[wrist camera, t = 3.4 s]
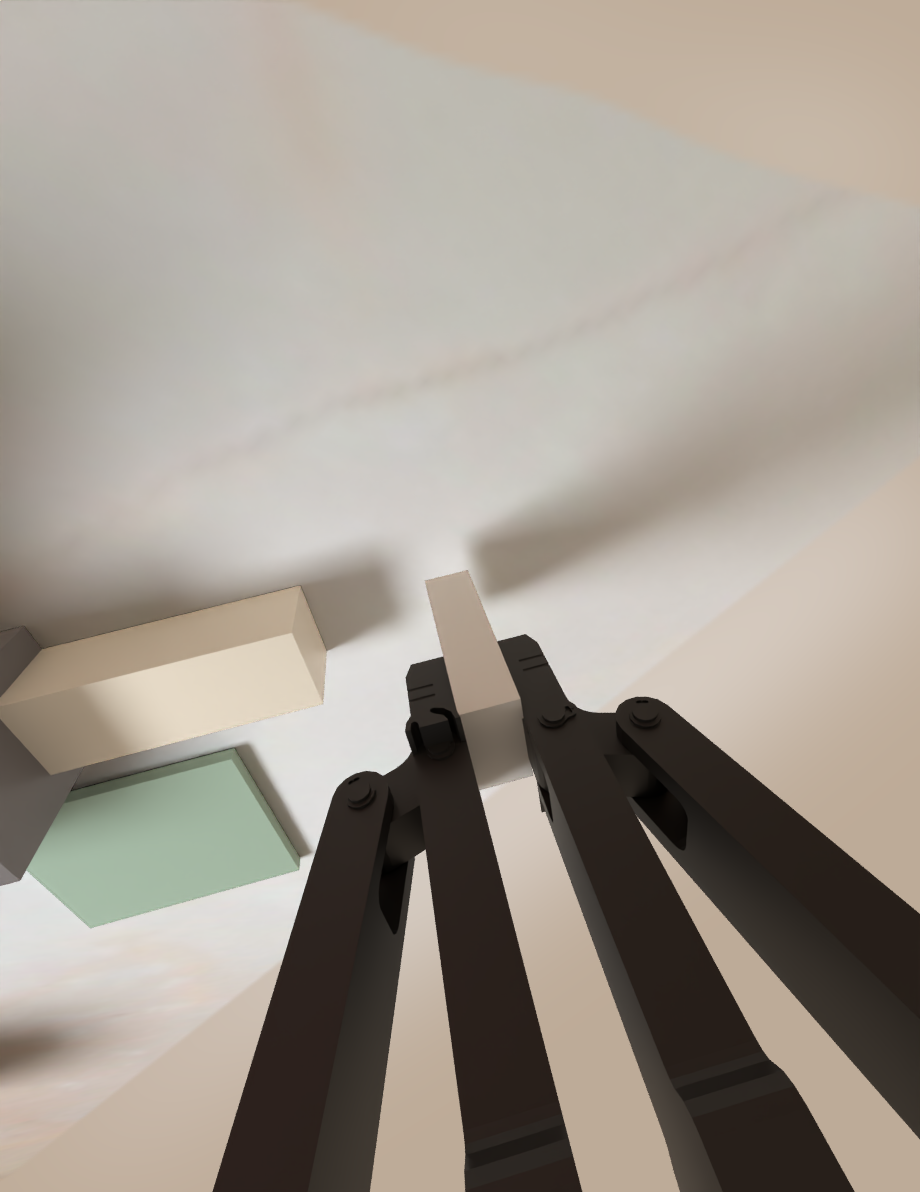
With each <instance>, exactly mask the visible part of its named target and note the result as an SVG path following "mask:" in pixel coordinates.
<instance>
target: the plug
mask: <svg viewBox="0 0 920 1192" xmlns="http://www.w3.org/2000/svg"><path fill="white" fill-rule="evenodd" d="M326 655H327V651H326V648H325V646H324V643H323V641H322V638H321V636H320V633H319V631H318V628H317V626H316V623H315V621H314V619H313V616H312V614H311V611H310V609H309V606H308V604H307V601H306V599H305V596H304V594H303V591H302V589H301V586H296V587H292V588H288V589H284V590H280V591H276V592H272V593H268V594H263V595H259V596H255V597H251V598H247V599H243V600H239V601H235V602H231V603H227V604H223V605H219V606H215V607H211V608H207V609H203V610H199V611H195V612H191V613H187V614H183V615H179V616H175V617H170V618H166V619H162V620H158V621H154V622H150V623H146V624H142V625H138V626H134V627H130V628H126V629H122V630H118V631H114V632H110V633H106V634H102V635H98V636H94V637H90V638H86V639H82V640H77V641H73V642H69V643H65V644H61V645H57V646H53V647H49V648H45V649H41V647H40V646H39V645H38V643H37V642H36V641H35V640H34V638H33V637H32V636H31V634H30V633H29V632H28V630H27V629H26V628H25V627H24V626H22V627H18V628H13V629H9V630H5V631H1V632H0V886H2V885H6V884H10V883H13V882H17V881H20V880H21V878H22V877H23V875H24V873H25V871H26V869H27V868H28V866H29V864H30V862H31V861H32V859H33V857H34V855H35V853H36V852H37V850H38V848H39V846H40V844H41V843H42V841H43V839H44V837H45V836H46V834H47V832H48V830H49V828H50V827H51V825H52V823H53V821H54V820H55V818H56V816H57V814H58V812H59V811H60V809H61V807H62V805H63V803H64V802H65V800H66V798H67V796H68V795H69V793H70V791H71V789H72V787H73V786H74V784H75V782H76V780H77V779H78V777H79V775H80V773H81V771H82V770H83V768H84V766H88V765H92V764H95V763H99V762H103V761H107V760H111V759H115V758H118V757H122V756H126V755H130V754H134V753H138V752H141V751H145V750H149V749H153V748H157V747H160V746H164V745H168V744H172V743H176V742H180V741H183V740H187V739H191V738H195V737H199V736H203V735H206V734H210V733H214V732H218V731H222V730H226V729H229V728H233V727H237V726H241V725H245V724H249V723H252V722H256V721H260V720H264V719H268V718H272V717H275V716H279V715H283V714H287V713H291V712H295V711H298V710H302V709H306V708H310V707H314V706H318V705H321V704H323V699H324V684H325V670H326Z"/></svg>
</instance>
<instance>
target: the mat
mask: <svg viewBox="0 0 920 1192" xmlns="http://www.w3.org/2000/svg"><path fill="white" fill-rule="evenodd" d="M299 866H300V857H299V856H298V854H297V852H296V851H295V849H294V847H293V846H292V844H291V842H290V841H289V839H288V837H287V836H286V834H285V832H284V831H283V829H282V827H281V826H280V824H279V822H278V821H277V819H276V817H275V816H274V814H273V812H272V810H271V809H270V807H269V805H268V804H267V802H266V800H265V799H264V797H263V795H262V794H261V792H260V790H259V789H258V787H257V785H256V784H255V782H254V780H253V779H252V777H251V775H250V774H249V772H248V770H247V769H246V767H245V765H244V764H243V762H242V760H241V759H240V757H239V755H238V754H237V752H236V750H235V749H234V748H233V749H229V750H225V751H221V752H218V753H214V754H210V755H206V756H202V757H199V758H195V759H191V760H187V761H183V762H180V763H176V764H172V765H168V766H165V767H161V768H157V769H153V770H149V771H146V772H142V773H138V774H134V775H130V776H127V777H123V778H119V779H115V780H111V781H108V782H104V783H100V784H96V785H93V786H89V787H85V788H81V789H77V790H74V791H70V793H69V795H68V796H67V798H66V800H65V802H64V803H63V805H62V807H61V809H60V811H59V812H58V814H57V816H56V818H55V820H54V821H53V823H52V825H51V827H50V828H49V830H48V832H47V834H46V836H45V837H44V839H43V841H42V843H41V844H40V846H39V848H38V850H37V852H36V853H35V855H34V857H33V859H32V861H31V862H30V864H29V866H28V868H27V869H26V870H27V871H28V872H29V873H30V874H31V875H32V876H33V877H34V878H35V879H37V880H38V881H39V882H40V883H41V884H42V885H43V886H44V887H45V888H46V889H48V890H49V891H50V892H51V893H52V894H53V895H54V896H55V897H56V898H58V899H59V900H60V901H61V902H62V903H63V904H64V905H65V906H66V907H67V908H69V909H70V910H71V911H72V912H73V913H74V914H75V915H76V916H77V917H78V918H80V919H81V920H82V921H83V922H84V923H85V924H86V925H87V926H88V927H89V928H93V927H97V926H100V925H104V924H107V923H111V922H115V921H118V920H122V919H125V918H129V917H133V916H136V915H140V914H143V913H147V912H150V911H154V910H158V909H161V908H165V907H168V906H172V905H175V904H179V903H183V902H186V901H190V900H193V899H197V898H201V897H204V896H208V895H211V894H215V893H218V892H222V891H226V890H229V889H233V888H236V887H240V886H243V885H247V884H251V883H254V882H258V881H261V880H265V879H269V878H272V877H276V876H279V875H283V874H286V873H290V872H294V871H297V870H299Z"/></svg>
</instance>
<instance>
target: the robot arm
mask: <svg viewBox="0 0 920 1192" xmlns="http://www.w3.org/2000/svg"><path fill="white" fill-rule="evenodd" d="M425 584H426V588H427V592H428V596H429V600H430V604H431V608H432V612H433V616H434V620H435V624H436V628H437V632H438V636H439V640H440V644H441V648H442V652H443V657H440V658H436V659H432V660H428V661H424V662H420V663H416V664H412V665H411V666H410V669H409V671H408V673H407V676H406V684H407V691H408V698H409V705H410V713H411V717H410V718H409V720H408V721H407V723H406V729H405V733H406V736H407V739H408V742H409V744H410V747H411V750H412V752H411V754H410V755H409V757H408V758H407V759H406V760H405V762H404V763H403V764H401V765H400V766H399V767H397V768H396V769H394V770H392V771H391V772H389V773H387V774H386V775H384V776H382V775H380V774H379V773H377V772H371V771H364V772H360V773H356V774H354V775H352V776H350V777H349V778H347V779H345V780H344V781H343V782H342V783H341V784H340V785H339V786H338V787H337V789H336V791H335V793H334V795H333V797H332V801H331V804H330V807H329V810H328V814H327V817H326V820H325V824H324V827H323V830H322V833H321V837H320V840H319V843H318V847H317V850H316V853H315V857H314V860H313V863H312V866H311V870H310V873H309V876H308V880H307V883H306V886H305V889H304V893H303V896H302V899H301V903H300V906H299V909H298V912H297V916H296V919H295V922H294V926H293V929H292V932H291V935H290V939H289V942H288V945H287V949H286V952H285V955H284V958H283V962H282V965H281V969H280V972H279V975H278V978H277V982H276V985H275V988H274V992H273V995H272V998H271V1001H270V1005H269V1008H268V1011H267V1014H266V1018H265V1021H264V1024H263V1028H262V1031H261V1034H260V1038H259V1041H258V1044H257V1047H256V1051H255V1054H254V1057H253V1060H252V1064H251V1067H250V1071H249V1074H248V1077H247V1080H246V1083H245V1087H244V1090H243V1093H242V1097H241V1100H240V1103H239V1106H238V1110H237V1113H236V1116H235V1120H234V1123H233V1126H232V1129H231V1133H230V1136H229V1139H228V1143H227V1146H226V1149H225V1153H224V1156H223V1159H222V1163H221V1166H220V1169H219V1172H218V1176H217V1179H216V1182H215V1185H214V1189H213V1192H370V1185H371V1179H372V1171H373V1164H374V1155H375V1148H376V1141H377V1134H378V1127H379V1120H380V1112H381V1105H382V1097H383V1090H384V1083H385V1075H386V1068H387V1060H388V1053H389V1045H390V1038H391V1030H392V1024H393V1016H394V1009H395V1002H396V994H397V986H398V979H399V972H400V965H401V957H402V950H403V942H404V935H405V928H406V920H407V913H408V905H409V898H410V891H411V884H412V876H413V868H414V861H415V856H416V855H418V854H419V853H421V852H422V851H424V850H425V849H426V855H427V862H428V869H429V877H430V885H431V892H432V899H433V907H434V915H435V922H436V930H437V937H438V944H439V952H440V959H441V967H442V975H443V982H444V989H445V997H446V1005H447V1012H448V1020H449V1027H450V1034H451V1042H452V1049H453V1057H454V1064H455V1072H456V1079H457V1086H458V1095H459V1101H460V1109H461V1117H462V1124H463V1132H464V1141H465V1154H466V1155H465V1169H464V1174H465V1192H582V1189H581V1185H580V1181H579V1177H578V1174H577V1170H576V1166H575V1162H574V1158H573V1154H572V1150H571V1146H570V1142H569V1139H568V1135H567V1131H566V1127H565V1123H564V1120H563V1116H562V1112H561V1108H560V1104H559V1100H558V1096H557V1092H556V1088H555V1085H554V1081H553V1077H552V1073H551V1069H550V1065H549V1061H548V1057H547V1053H546V1049H545V1045H544V1041H543V1038H542V1034H541V1030H540V1026H539V1022H538V1018H537V1014H536V1010H535V1006H534V1003H533V999H532V995H531V991H530V987H529V983H528V979H527V975H526V971H525V967H524V963H523V960H522V956H521V952H520V948H519V944H518V940H517V936H516V932H515V928H514V924H513V921H512V917H511V913H510V909H509V905H508V901H507V897H506V893H505V889H504V885H503V881H502V878H501V874H500V870H499V866H498V862H497V858H496V854H495V850H494V846H493V842H492V838H491V835H490V831H489V827H488V823H487V819H486V816H485V811H484V807H483V803H482V799H481V796H480V792H479V790H482V789H485V788H489V787H493V786H496V785H500V784H504V783H507V782H511V781H515V780H518V779H522V778H525V777H529V776H533V772H534V774H535V777H536V780H537V786H538V792H539V798H540V804H541V811H542V812H546V815H547V817H548V820H549V823H550V825H551V828H552V831H553V833H554V836H555V839H556V842H557V845H558V847H559V850H560V853H561V856H562V858H563V861H564V864H565V867H566V869H567V872H568V875H569V877H570V880H571V883H572V886H573V888H574V891H575V894H576V896H577V899H578V902H579V905H580V907H581V910H582V913H583V916H584V918H585V921H586V924H587V927H588V929H589V932H590V935H591V937H592V940H593V943H594V946H595V949H596V951H597V954H598V957H599V959H600V962H601V965H602V968H603V970H604V973H605V976H606V978H607V981H608V984H609V987H610V989H611V992H612V995H613V998H614V1000H615V1003H616V1006H617V1008H618V1011H619V1014H620V1017H621V1020H622V1022H623V1025H624V1028H625V1031H626V1033H627V1036H628V1039H629V1041H630V1044H631V1047H632V1049H633V1052H634V1055H635V1058H636V1060H637V1063H638V1066H639V1068H640V1072H641V1074H642V1077H643V1080H644V1082H645V1085H646V1088H647V1091H648V1093H649V1096H650V1099H651V1102H652V1104H653V1107H654V1110H655V1112H656V1115H657V1118H658V1121H659V1123H660V1126H661V1129H662V1132H663V1135H664V1137H665V1140H666V1144H667V1147H668V1151H669V1155H670V1158H671V1162H672V1166H673V1170H674V1174H675V1177H676V1180H677V1183H678V1186H679V1190H680V1192H854V1190H853V1188H852V1186H851V1185H850V1183H849V1181H848V1179H847V1177H846V1176H845V1174H844V1172H843V1170H842V1168H841V1167H840V1165H839V1163H838V1161H837V1159H836V1158H835V1156H834V1154H833V1152H832V1150H831V1148H830V1147H829V1145H828V1143H827V1142H826V1139H825V1138H824V1136H823V1134H822V1132H821V1130H820V1129H819V1127H818V1125H817V1123H816V1121H815V1120H814V1118H813V1116H812V1114H811V1113H810V1111H809V1109H808V1107H807V1105H806V1104H805V1102H804V1101H803V1099H802V1097H801V1095H800V1094H799V1092H798V1091H797V1089H796V1088H795V1086H794V1084H793V1083H792V1082H791V1081H790V1079H789V1078H788V1076H787V1075H786V1074H785V1073H784V1071H783V1070H782V1069H780V1068H779V1067H778V1066H777V1065H776V1064H774V1063H773V1062H772V1061H771V1060H769V1058H768V1057H767V1056H766V1054H765V1053H764V1052H763V1050H762V1048H761V1047H760V1045H759V1043H758V1042H757V1040H756V1038H755V1036H754V1034H753V1033H752V1031H751V1029H750V1027H749V1025H748V1023H747V1021H746V1020H745V1018H744V1016H743V1014H742V1012H741V1010H740V1008H739V1006H738V1005H737V1003H736V1001H735V999H734V997H733V995H732V994H731V992H730V990H729V988H728V986H727V984H726V982H725V980H724V979H723V977H722V975H721V973H720V971H719V969H718V967H717V966H716V964H715V962H714V960H713V958H712V956H711V954H710V952H709V951H708V949H707V947H706V945H705V943H704V941H703V939H702V937H701V936H700V934H699V932H698V930H697V928H696V926H695V924H694V923H693V921H692V919H691V917H690V915H689V913H688V911H687V909H686V908H685V906H684V904H683V902H682V900H681V898H680V896H679V895H678V893H677V891H676V889H675V887H674V885H673V883H672V881H671V880H670V878H669V876H668V874H667V872H666V870H665V869H664V867H663V865H662V863H661V861H660V859H659V858H658V855H657V854H656V852H655V850H654V848H653V846H652V844H651V842H650V840H649V839H648V837H647V835H646V833H645V831H644V829H643V827H642V826H641V824H640V822H639V820H638V818H639V819H640V820H641V821H642V822H643V823H644V824H645V826H646V827H647V828H648V829H649V830H650V831H651V833H652V834H653V835H654V836H655V837H656V838H657V839H658V841H659V842H660V843H661V844H662V845H663V846H664V847H665V849H666V850H667V851H668V852H669V853H670V854H671V855H672V857H673V858H674V859H675V860H676V861H677V862H678V863H679V865H680V866H681V867H682V868H683V869H684V870H685V871H686V873H687V874H688V875H689V876H690V877H691V878H692V879H693V881H694V882H695V883H696V884H697V885H698V886H699V887H700V889H701V890H702V891H703V892H704V893H705V894H706V895H707V897H708V898H709V899H710V900H711V901H712V902H713V903H714V905H715V906H716V907H717V908H718V909H719V910H720V911H721V912H722V914H723V915H724V916H725V917H726V918H727V919H728V921H729V922H730V923H731V924H732V925H733V926H734V927H735V929H737V931H738V932H739V933H740V934H741V935H742V936H743V938H744V939H745V940H746V941H747V942H748V943H749V945H750V946H751V947H752V948H753V949H754V950H755V951H756V952H757V954H758V955H759V956H760V957H761V958H762V959H763V960H764V962H765V963H766V964H767V965H768V966H769V967H770V969H771V970H772V971H773V972H774V973H775V974H776V975H777V977H778V978H779V979H780V980H781V981H782V982H783V983H784V984H785V986H786V987H787V988H788V989H789V990H790V991H791V993H792V994H793V995H794V996H795V997H796V998H797V999H798V1000H799V1002H800V1003H801V1004H802V1005H803V1006H804V1007H805V1008H806V1010H807V1011H808V1012H809V1013H810V1014H811V1015H812V1017H813V1018H814V1019H815V1020H816V1021H817V1022H818V1023H819V1025H820V1026H821V1027H822V1028H823V1029H824V1030H825V1031H826V1032H827V1034H828V1035H829V1036H830V1037H831V1038H832V1039H833V1041H834V1042H835V1043H836V1044H837V1045H838V1046H839V1047H840V1049H841V1050H842V1051H843V1052H844V1053H845V1054H846V1055H847V1057H848V1058H849V1059H850V1060H851V1061H852V1062H853V1063H854V1065H855V1066H856V1067H857V1068H858V1069H859V1070H860V1071H861V1073H862V1074H863V1075H864V1076H865V1077H866V1078H867V1079H868V1080H869V1082H870V1083H871V1084H872V1085H873V1086H874V1087H875V1089H876V1090H877V1091H878V1092H879V1093H880V1094H881V1095H882V1097H883V1098H885V1100H886V1101H887V1102H888V1103H889V1105H890V1106H891V1107H892V1108H893V1109H894V1110H895V1111H896V1112H897V1114H898V1115H899V1116H900V1117H901V1118H902V1119H903V1120H904V1121H905V1123H906V1124H907V1125H908V1126H909V1127H910V1128H911V1129H912V1131H913V1132H914V1133H915V1134H916V1135H917V1136H918V1138H919V1139H920V914H919V913H918V912H917V911H916V910H914V909H913V908H912V907H911V906H910V905H908V904H907V903H906V902H905V901H904V900H902V899H901V898H900V897H899V896H898V895H896V894H895V893H894V892H893V891H891V890H890V889H889V888H888V887H887V886H885V885H884V884H883V883H882V882H881V881H879V880H878V879H877V878H876V877H874V876H873V875H872V874H871V873H870V872H869V871H867V870H866V869H865V868H864V867H862V866H861V865H860V864H859V863H858V862H856V861H855V860H854V859H853V858H852V857H850V856H849V855H848V854H847V853H845V852H844V851H843V850H842V849H841V848H840V847H838V846H837V845H836V844H835V843H834V842H832V841H831V840H830V839H829V838H827V837H826V836H825V835H824V834H823V833H821V832H820V831H819V830H818V829H817V828H815V827H814V826H813V825H812V824H811V823H809V822H808V821H807V820H806V819H804V818H803V817H802V816H801V815H800V814H798V813H797V812H796V811H795V810H794V809H792V808H791V807H790V806H789V805H788V804H786V803H785V802H784V801H783V800H782V799H780V798H779V797H778V796H777V795H775V794H774V793H773V792H772V791H771V790H769V789H768V788H767V787H766V786H765V785H763V784H762V783H761V782H760V781H759V780H757V779H756V778H755V777H754V776H753V775H751V774H750V773H749V772H748V771H746V770H745V769H744V768H743V767H741V766H740V765H739V764H738V763H737V762H736V761H734V760H733V759H732V758H731V757H729V756H728V755H727V754H726V753H725V752H723V751H722V750H721V749H720V748H719V747H718V746H716V745H715V744H713V742H711V741H710V740H709V739H708V738H706V737H705V736H704V735H703V734H702V733H701V732H699V731H698V730H697V729H696V728H695V727H693V726H692V725H691V724H690V723H689V722H687V721H686V720H685V719H684V718H682V717H681V716H680V715H679V714H678V713H676V712H675V711H674V710H673V709H672V708H670V707H669V706H668V705H666V704H665V703H663V702H661V701H659V700H658V699H654V698H650V697H635V698H631V699H628V700H625V701H624V702H623V703H621V704H620V705H619V706H618V708H617V711H616V713H594V712H588V711H584V710H581V709H579V708H577V707H576V705H575V704H573V703H571V702H569V700H568V699H567V698H566V696H565V694H564V692H563V690H562V688H561V686H560V685H559V683H558V681H557V679H556V677H555V675H554V673H553V671H552V669H551V667H550V665H548V662H547V660H546V658H545V656H544V655H543V652H542V650H541V648H540V646H539V644H538V643H537V642H536V641H535V640H533V639H532V638H530V637H529V636H527V635H526V634H524V635H520V636H516V637H513V638H509V639H505V640H501V641H497V640H496V638H495V635H494V633H493V630H492V628H491V626H490V623H489V621H488V618H487V616H486V613H485V611H484V609H483V606H482V604H481V601H480V599H479V596H478V594H477V591H476V589H475V587H474V584H473V582H472V579H471V577H470V574H469V572H468V570H466V571H462V572H458V573H454V574H450V575H446V576H442V577H438V578H434V579H430V580H426V581H425ZM532 769H533V772H532ZM636 815H637V816H636ZM637 817H638V818H637Z"/></svg>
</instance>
